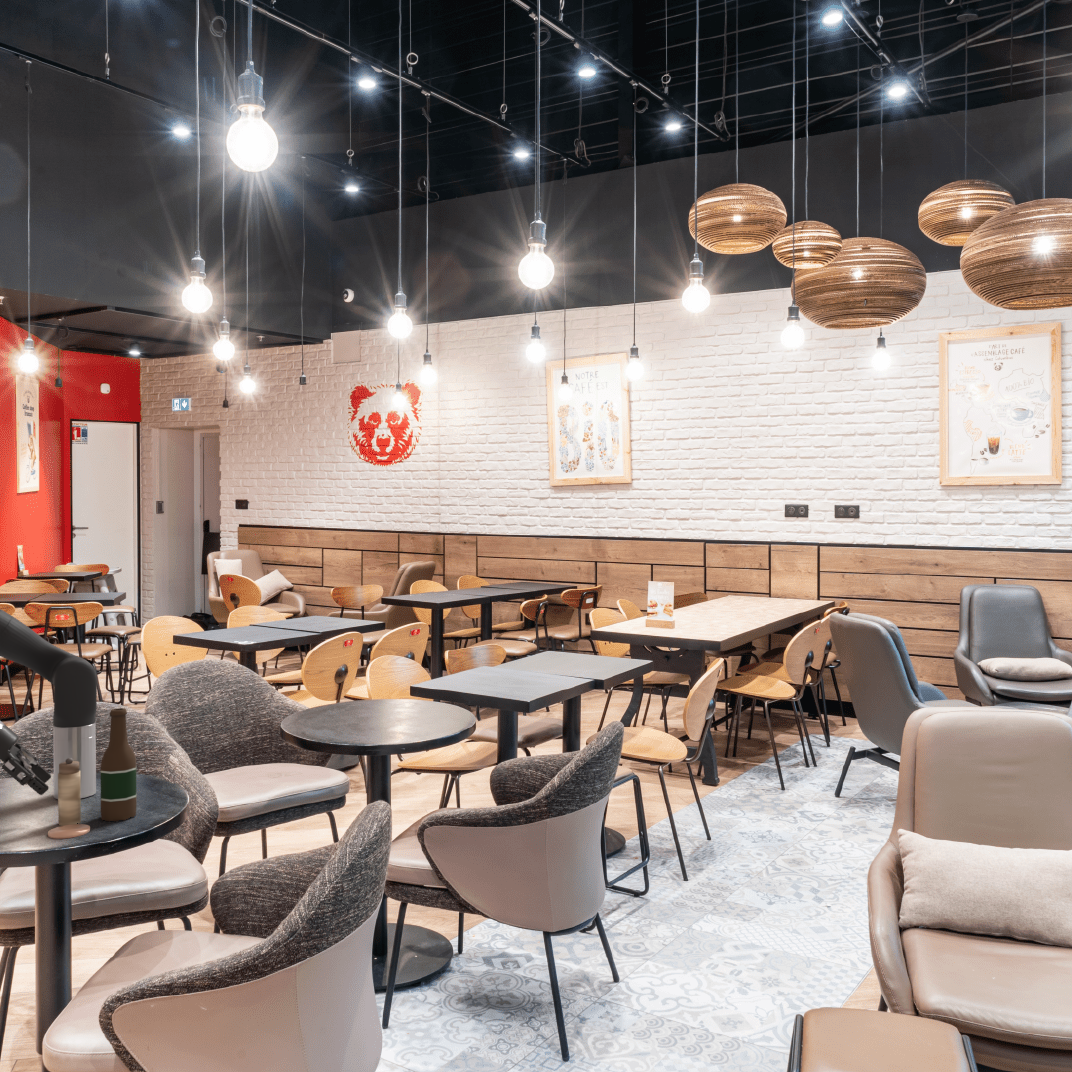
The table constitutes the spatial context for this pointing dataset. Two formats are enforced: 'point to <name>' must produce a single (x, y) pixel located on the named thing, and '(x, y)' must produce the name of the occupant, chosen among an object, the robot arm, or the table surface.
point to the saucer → (68, 831)
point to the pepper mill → (69, 793)
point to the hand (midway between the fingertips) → (46, 785)
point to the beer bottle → (118, 772)
